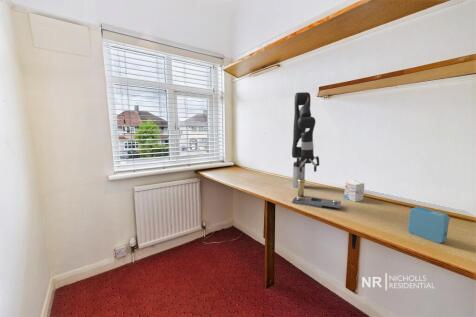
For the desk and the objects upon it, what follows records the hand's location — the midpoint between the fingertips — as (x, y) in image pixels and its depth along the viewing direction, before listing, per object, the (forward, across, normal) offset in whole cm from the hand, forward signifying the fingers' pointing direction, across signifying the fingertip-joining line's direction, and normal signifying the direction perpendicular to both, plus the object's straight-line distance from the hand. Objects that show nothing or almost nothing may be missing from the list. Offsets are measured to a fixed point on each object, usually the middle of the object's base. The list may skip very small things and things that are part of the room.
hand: (307, 171), depth 138 cm
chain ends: (+19, -4, +10) cm, 22 cm away
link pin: (+19, +5, -4) cm, 21 cm away
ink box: (+22, -29, -6) cm, 37 cm away
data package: (+19, -46, +41) cm, 65 cm away
